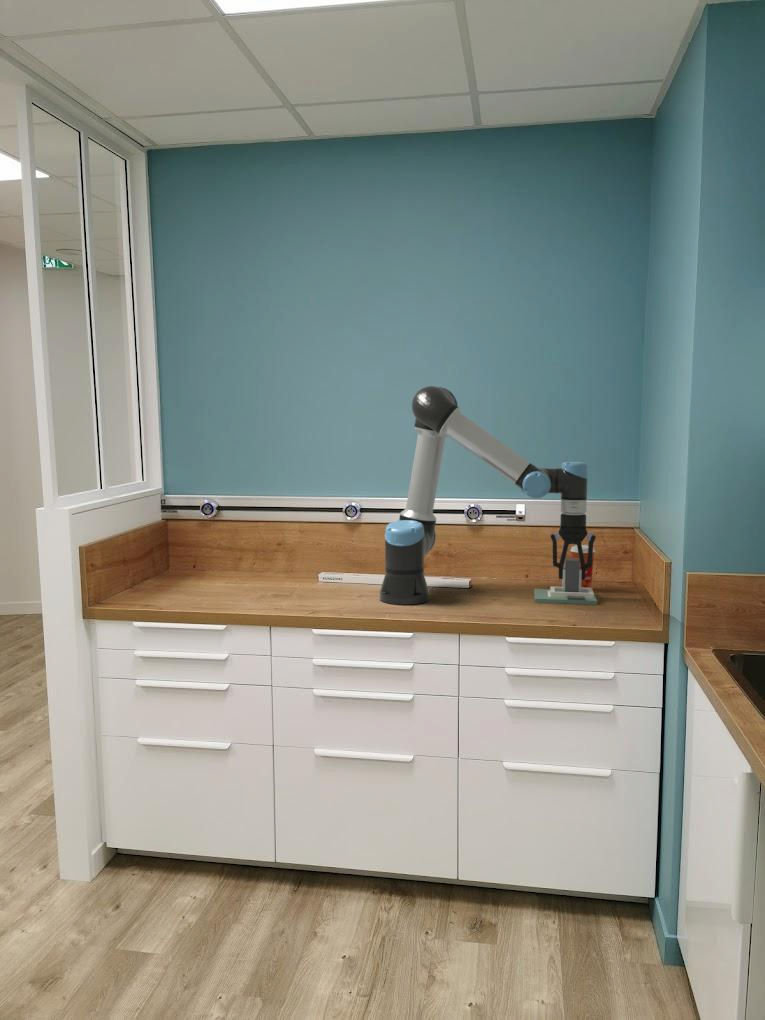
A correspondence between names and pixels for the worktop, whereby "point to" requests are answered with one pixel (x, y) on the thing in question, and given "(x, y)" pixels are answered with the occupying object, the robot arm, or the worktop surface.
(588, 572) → the paper cup
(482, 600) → the worktop surface
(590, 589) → the board
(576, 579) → the plug
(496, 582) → the worktop surface
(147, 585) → the worktop surface
